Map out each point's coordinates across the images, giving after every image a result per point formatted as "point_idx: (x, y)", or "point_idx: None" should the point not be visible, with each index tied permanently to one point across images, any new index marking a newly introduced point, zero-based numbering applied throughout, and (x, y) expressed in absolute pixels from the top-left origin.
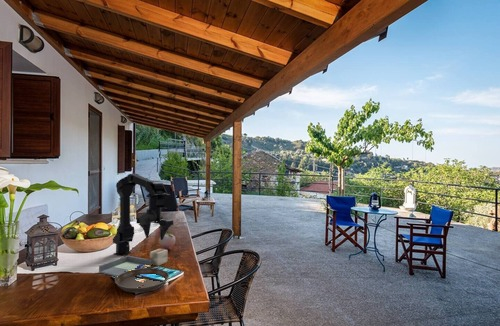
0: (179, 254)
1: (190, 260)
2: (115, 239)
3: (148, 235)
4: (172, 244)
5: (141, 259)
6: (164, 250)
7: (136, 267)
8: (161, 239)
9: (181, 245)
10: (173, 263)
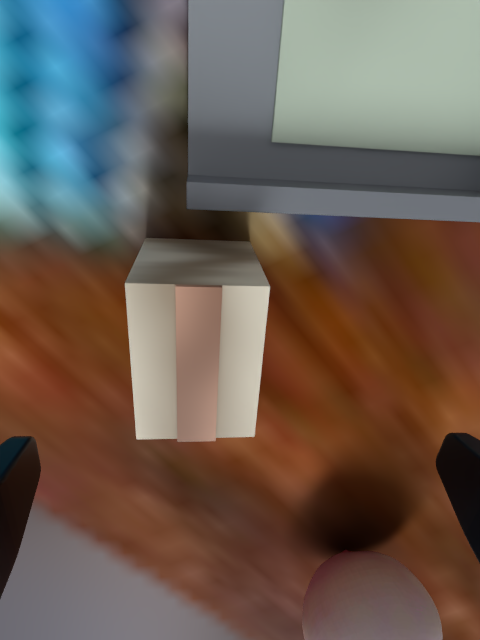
0: (187, 515)
1: None
2: None
3: (455, 501)
4: (306, 595)
5: (326, 187)
6: (152, 410)
7: (281, 30)
8: (4, 445)
9: (297, 623)
10: (66, 349)
